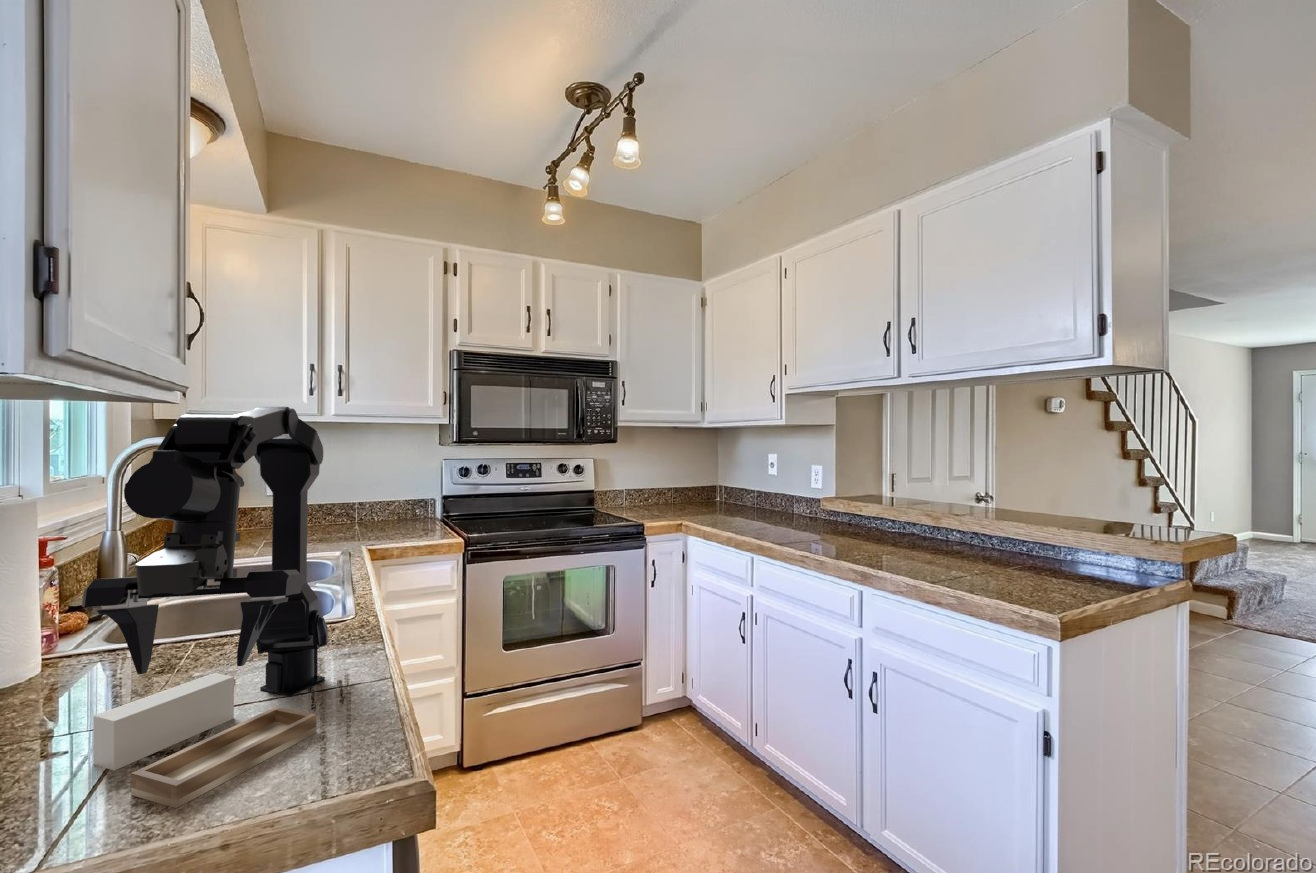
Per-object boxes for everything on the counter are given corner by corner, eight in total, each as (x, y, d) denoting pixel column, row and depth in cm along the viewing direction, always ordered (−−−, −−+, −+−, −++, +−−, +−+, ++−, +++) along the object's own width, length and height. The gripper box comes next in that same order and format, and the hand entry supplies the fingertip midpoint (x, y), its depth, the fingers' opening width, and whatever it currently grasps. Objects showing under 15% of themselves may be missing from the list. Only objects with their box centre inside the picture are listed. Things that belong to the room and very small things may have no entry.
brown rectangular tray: (276, 724, 82) (276, 706, 82) (316, 732, 80) (316, 714, 80) (131, 795, 66) (131, 773, 66) (176, 808, 63) (176, 785, 63)
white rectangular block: (214, 714, 85) (214, 672, 85) (233, 719, 84) (233, 676, 84) (93, 765, 72) (93, 715, 72) (113, 771, 71) (114, 721, 71)
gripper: (53, 523, 58) (29, 695, 55) (272, 517, 62) (260, 676, 59) (124, 527, 68) (107, 672, 65) (306, 522, 73) (298, 657, 70)
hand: (192, 669), depth 65 cm, fingers open, 9 cm apart
